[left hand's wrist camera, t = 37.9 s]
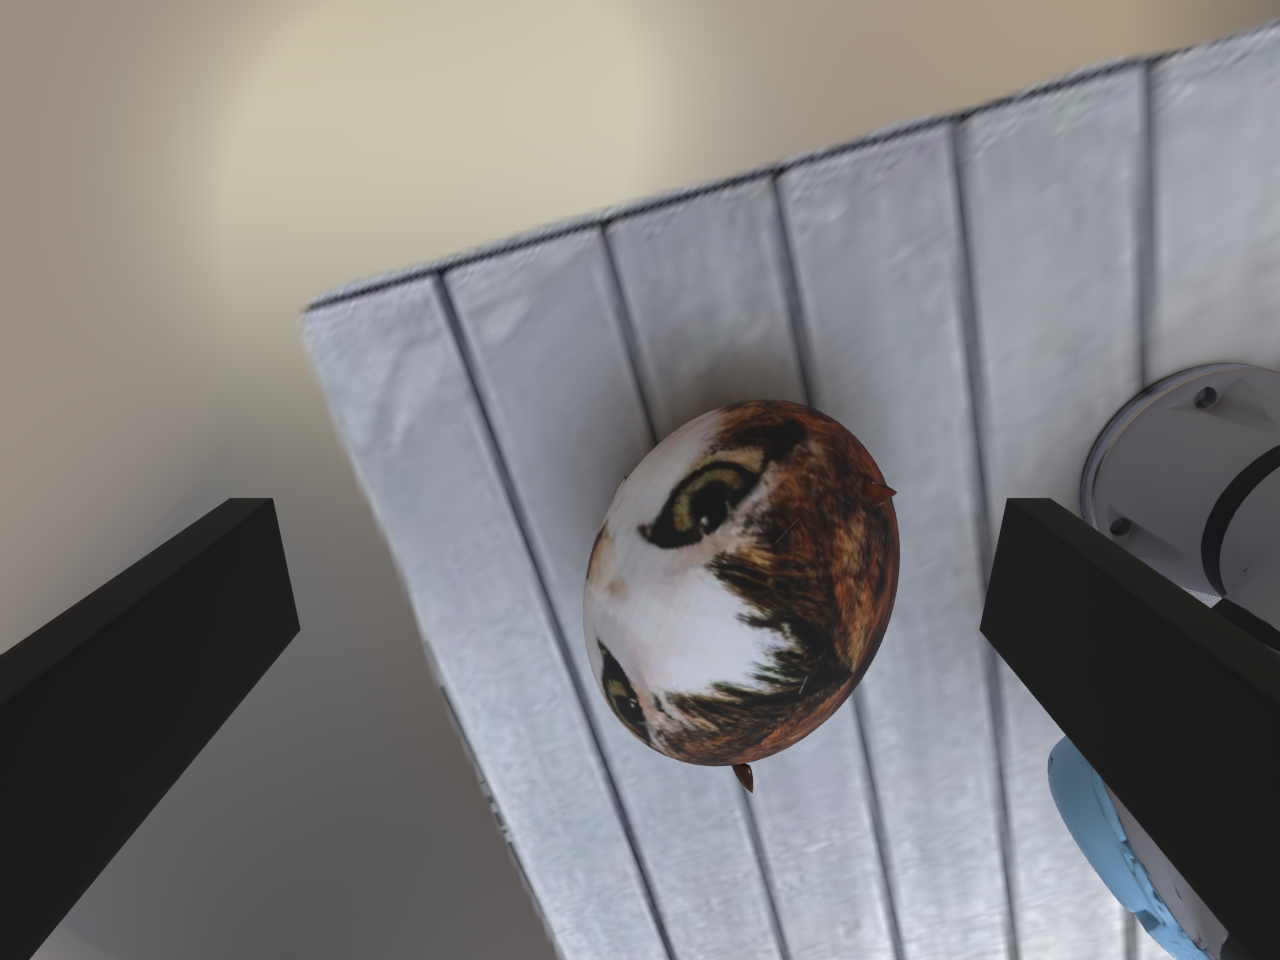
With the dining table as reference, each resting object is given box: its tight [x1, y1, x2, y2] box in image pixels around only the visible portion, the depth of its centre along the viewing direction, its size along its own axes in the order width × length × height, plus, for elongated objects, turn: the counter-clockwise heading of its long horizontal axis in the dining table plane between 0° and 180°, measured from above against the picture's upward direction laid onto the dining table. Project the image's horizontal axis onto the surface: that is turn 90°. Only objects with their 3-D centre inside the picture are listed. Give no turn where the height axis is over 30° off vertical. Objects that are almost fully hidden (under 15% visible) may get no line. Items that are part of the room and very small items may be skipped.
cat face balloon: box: [583, 400, 900, 793], centre depth 41 cm, size 22×18×20 cm
